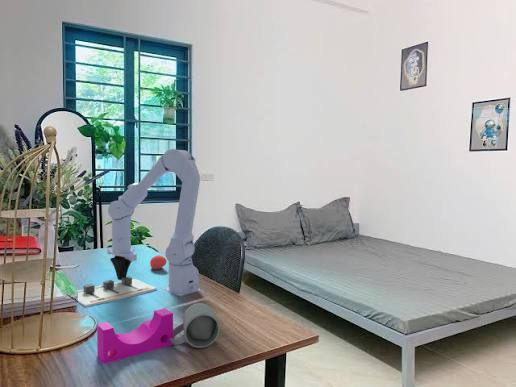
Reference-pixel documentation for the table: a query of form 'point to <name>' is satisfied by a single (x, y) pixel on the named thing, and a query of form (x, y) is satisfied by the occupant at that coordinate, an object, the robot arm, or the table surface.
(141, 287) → the switch panel
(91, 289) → the tab
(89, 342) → the table surface
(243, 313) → the table surface
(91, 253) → the table surface
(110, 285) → the tab
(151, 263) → the stress ball
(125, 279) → the tab
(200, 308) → the ceramic mug
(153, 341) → the toy block
